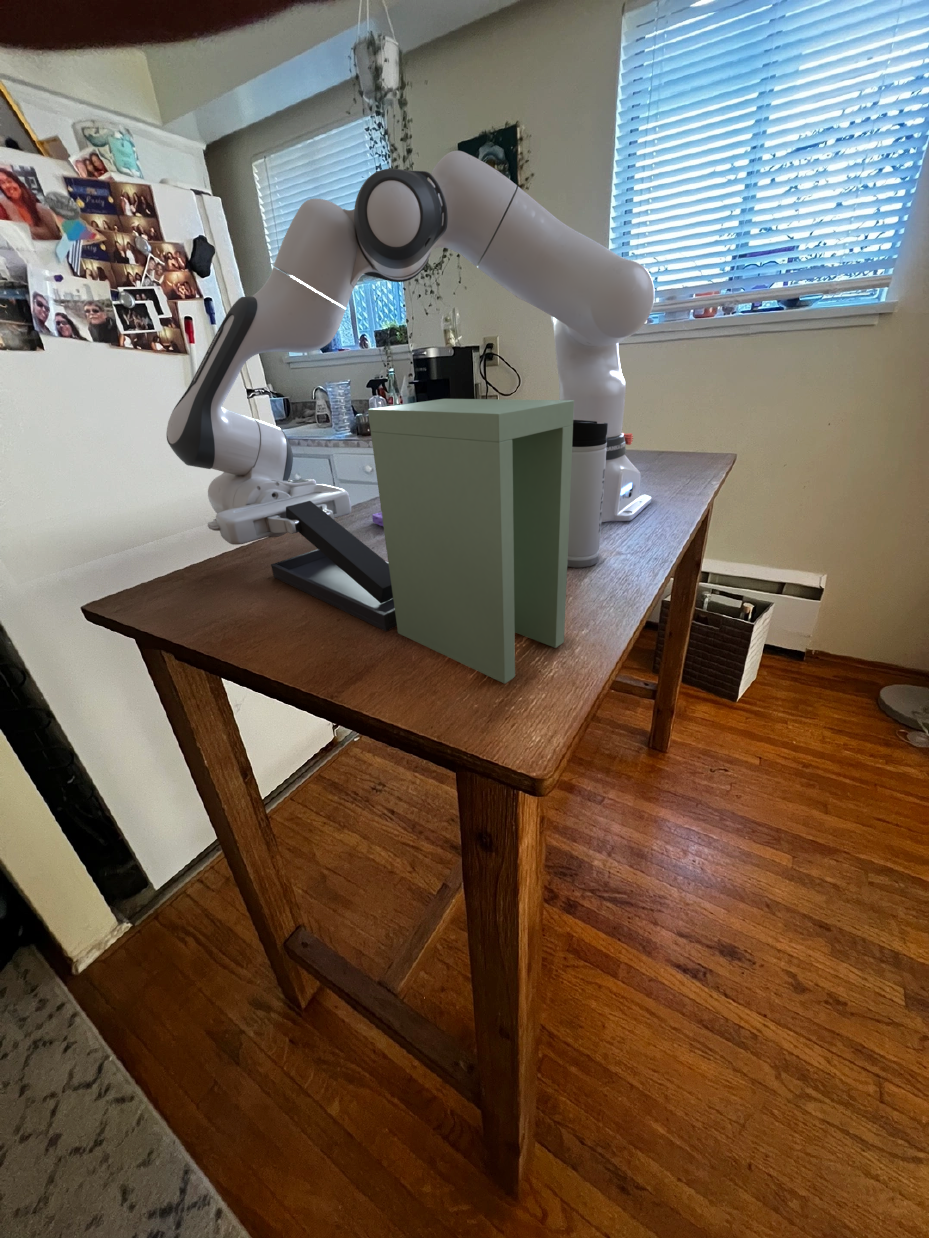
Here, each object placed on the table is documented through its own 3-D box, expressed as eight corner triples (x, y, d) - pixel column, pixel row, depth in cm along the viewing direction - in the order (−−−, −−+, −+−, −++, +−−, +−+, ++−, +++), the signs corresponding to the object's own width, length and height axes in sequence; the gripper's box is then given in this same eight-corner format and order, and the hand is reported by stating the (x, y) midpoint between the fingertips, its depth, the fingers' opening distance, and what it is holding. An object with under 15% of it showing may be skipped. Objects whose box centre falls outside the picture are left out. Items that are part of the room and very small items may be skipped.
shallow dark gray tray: (336, 555, 82) (334, 543, 81) (453, 598, 65) (452, 583, 64) (273, 577, 76) (270, 564, 75) (386, 631, 58) (383, 615, 57)
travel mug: (545, 558, 76) (548, 417, 67) (581, 550, 78) (589, 412, 69) (569, 571, 71) (575, 421, 62) (607, 562, 73) (619, 416, 64)
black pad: (310, 515, 76) (310, 500, 74) (404, 593, 66) (407, 578, 65) (286, 521, 73) (285, 506, 72) (381, 603, 64) (382, 588, 62)
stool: (458, 602, 64) (444, 398, 53) (564, 642, 54) (574, 400, 43) (397, 633, 58) (367, 409, 47) (504, 684, 48) (498, 413, 37)
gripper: (196, 503, 73) (237, 518, 64) (319, 476, 85) (367, 486, 77) (208, 544, 76) (249, 564, 67) (326, 513, 88) (373, 526, 80)
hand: (313, 522), depth 72 cm, fingers closed on black pad, 4 cm apart
